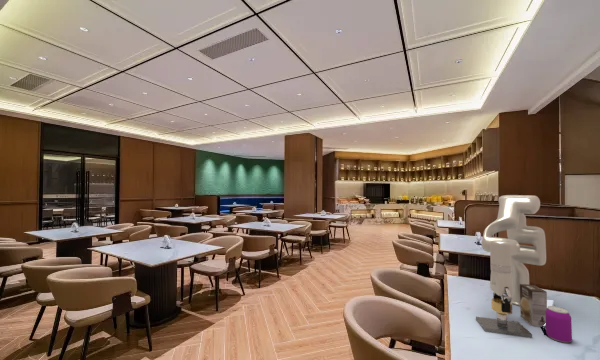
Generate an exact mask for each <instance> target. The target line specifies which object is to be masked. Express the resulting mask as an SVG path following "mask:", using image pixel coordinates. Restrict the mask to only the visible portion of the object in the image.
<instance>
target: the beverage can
mask: <svg viewBox="0 0 600 360" xmlns="http://www.w3.org/2000/svg"><path fill="white" fill-rule="evenodd" d="M545 314H546V327H545V334H546V335H547V336H548V337H549V338H550V339H552V340H554V341H556V342H560V343H563V344H565V343H566V344H569V343H571V342H572V341H573V332H572V331H573V330H572V329H573V326H572V317H571V315H570V313H569V310H567V309H565V308H562V307H559V306H554V305H547V310H546V311H545Z"/></svg>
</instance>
